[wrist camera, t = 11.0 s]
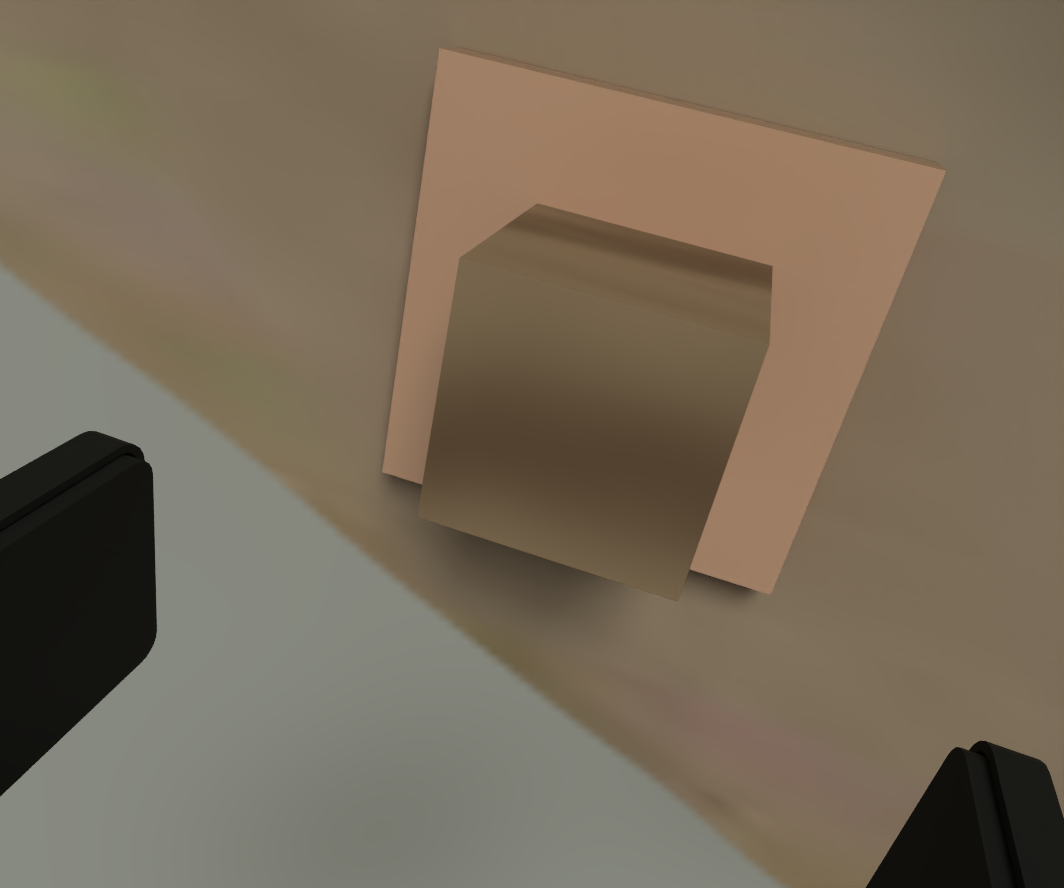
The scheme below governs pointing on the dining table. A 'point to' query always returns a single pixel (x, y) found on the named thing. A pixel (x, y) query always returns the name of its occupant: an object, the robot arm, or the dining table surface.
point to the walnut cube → (593, 394)
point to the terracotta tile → (684, 215)
